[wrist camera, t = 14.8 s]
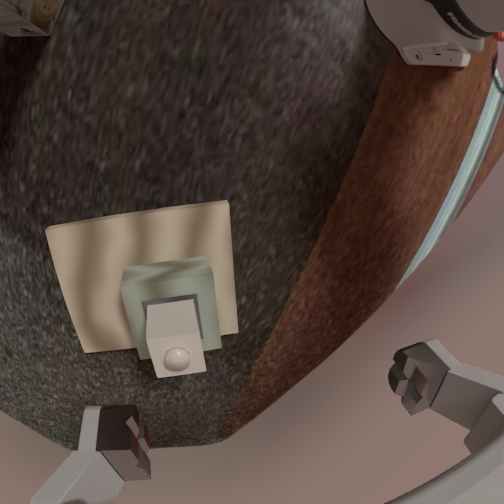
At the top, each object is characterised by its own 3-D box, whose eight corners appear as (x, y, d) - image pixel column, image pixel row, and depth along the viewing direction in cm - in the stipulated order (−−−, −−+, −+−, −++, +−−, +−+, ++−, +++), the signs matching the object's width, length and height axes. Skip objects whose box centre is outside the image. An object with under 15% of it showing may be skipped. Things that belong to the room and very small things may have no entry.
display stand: (226, 200, 37) (238, 215, 32) (236, 326, 45) (247, 356, 39) (49, 226, 33) (29, 246, 27) (86, 346, 40) (78, 378, 34)
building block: (193, 299, 34) (200, 337, 28) (199, 335, 36) (207, 376, 30) (147, 305, 33) (145, 345, 27) (156, 342, 35) (157, 383, 29)
